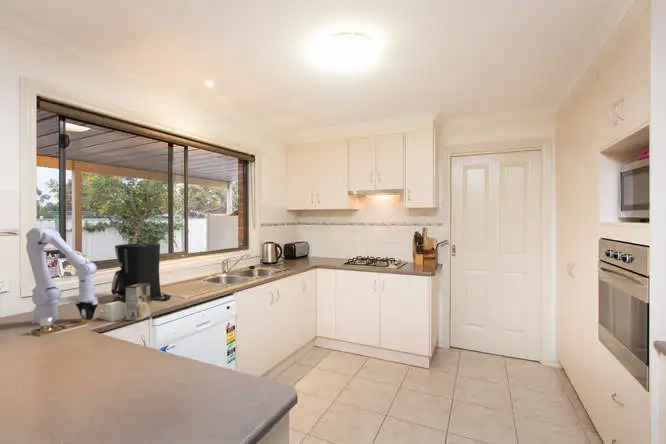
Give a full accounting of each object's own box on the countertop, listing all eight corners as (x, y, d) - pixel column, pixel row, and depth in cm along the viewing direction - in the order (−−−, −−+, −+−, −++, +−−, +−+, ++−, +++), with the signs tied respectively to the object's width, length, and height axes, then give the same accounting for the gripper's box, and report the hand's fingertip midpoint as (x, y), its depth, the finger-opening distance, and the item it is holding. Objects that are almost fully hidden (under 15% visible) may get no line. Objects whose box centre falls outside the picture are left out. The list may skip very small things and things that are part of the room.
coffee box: (140, 315, 167) (139, 282, 167) (151, 315, 166) (151, 283, 166) (125, 320, 158) (125, 286, 158) (137, 321, 157) (136, 287, 157)
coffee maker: (124, 295, 211) (123, 242, 211) (178, 293, 216) (178, 241, 216) (105, 304, 189) (105, 244, 189) (166, 301, 194) (166, 243, 194)
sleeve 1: (38, 332, 138) (38, 318, 138) (50, 329, 142) (50, 315, 142) (43, 334, 137) (43, 319, 137) (55, 331, 140) (55, 316, 140)
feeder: (98, 319, 160) (97, 302, 160) (111, 316, 165) (111, 299, 165) (111, 322, 155) (111, 305, 155) (124, 319, 160) (124, 302, 160)
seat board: (28, 335, 138) (28, 329, 138) (75, 323, 153) (75, 318, 153) (41, 339, 133) (41, 333, 133) (88, 327, 148) (88, 322, 148)
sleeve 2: (79, 322, 154) (79, 309, 154) (89, 319, 158) (89, 307, 158) (84, 323, 153) (84, 310, 153) (94, 320, 156) (94, 308, 156)
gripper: (104, 289, 155) (105, 318, 156) (87, 286, 162) (88, 314, 162) (88, 291, 149) (88, 322, 149) (70, 289, 156) (71, 318, 156)
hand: (87, 318), depth 155 cm, fingers closed on sleeve 2, 4 cm apart
